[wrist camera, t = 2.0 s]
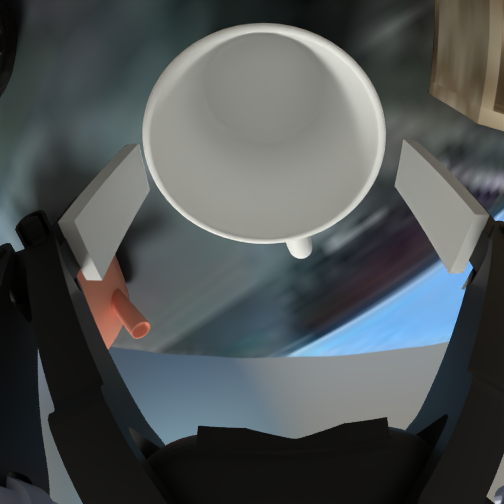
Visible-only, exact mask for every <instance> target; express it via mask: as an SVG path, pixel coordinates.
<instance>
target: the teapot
mask: <svg viewBox="0 0 504 504" xmlns="http://www.w3.org/2000/svg"><path fill="white" fill-rule="evenodd" d="M77 278H78V280H79V282H80V284H81V287H82V289H83V292H84V295H85V297H86V300H87V302H88V305H89V307H90V310H91V312H92V315H93V317H94V320H95V322H96V324H97V327H98V329H99V331H100V334H101V336H102V338H103V340H104V343H105V345H106V347H107V349H109V347H110V346H111V344H112V343H113V341H114V340H115V338H116V336H117V335H118V333H119V331H120V329H121V327H122V325H123V324H124V326H125V327H126V329H127V330H128V331H129V333H130V334H131V335H132V337H133V338H141V337H143V336H145V335H146V334H147V333H148V332H149V330H150V323H149V322H148V321H147V320H146V319H145V318H144V317H143V315H142V314H141V313H140V312H139V311H138V310H137V309H136V308H135V306H134V305H133V304H132V303H131V302H130V301H129V294H128V290H127V286H126V283H125V280H124V277H123V274H122V271H121V268H120V265H119V263H118V260H117V258H116V255H114V257H113V259H112V261H111V263H110V265H109V267H108V269H107V271H106V274H105V276H104V278H103V280H102V281H101V280H86V278H85V277H84V275H83V273H82V271H81V269H80V271H79V272H78V274H77ZM11 300H12V299H11Z"/></svg>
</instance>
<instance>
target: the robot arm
mask: <svg viewBox="0 0 504 504" xmlns="http://www.w3.org/2000/svg"><path fill="white" fill-rule="evenodd" d="M395 187H396V189H397V190H398V191H399V193H400V194H401V196H402V197H403V199H404V200H405V202H406V203H407V205H408V206H409V208H410V209H411V211H412V212H413V214H414V215H415V217H416V218H417V220H418V222H419V223H420V225H421V226H422V228H423V230H424V231H425V233H426V234H427V236H428V238H429V239H430V241H431V243H432V245H433V246H434V248H435V250H436V251H437V253H438V255H439V257H440V258H441V260H442V262H443V264H444V266H445V268H446V269H447V271H448V273H449V274H453V273H463V272H464V270H465V268H466V266H467V264H468V262H469V261H470V263H471V265H472V266H473V269H472V271H471V273H470V275H469V277H468V278H467V280H466V282H465V284H464V286H463V287H462V289H463V290H464V289H465V288H466V290H465V294H464V298H463V301H462V305H461V308H460V311H459V315H458V318H457V321H456V324H455V327H454V330H453V333H452V336H451V339H450V342H449V345H448V347H447V350H446V353H445V355H444V358H443V360H442V363H441V365H440V368H439V370H438V373H437V375H436V377H435V380H434V382H433V384H432V386H431V389H430V391H429V393H428V395H427V398H426V400H425V401H424V404H423V406H422V408H421V410H420V411H419V413H418V415H417V416H416V418H415V419H414V420H413V422H412V423H411V424H410V425H409V427H408V428H407V429H406V431H405V430H402V429H398V428H393V427H388V421H387V417H385V418H379V419H374V420H366V421H359V422H352V423H344V424H341V425H339V426H336V427H333V428H330V429H327V430H324V431H321V432H318V433H315V434H312V435H309V436H306V437H302V438H298V439H291V438H286V437H281V436H276V435H272V434H267V433H262V432H259V431H254V430H250V429H247V428H226V427H209V426H198V432H197V435H193V436H189V437H185V438H181V439H179V440H176V441H174V442H171V443H169V444H168V445H166V446H165V444H164V443H163V442H162V440H161V439H160V438H159V437H158V435H157V434H156V433H155V432H154V430H153V429H152V428H151V427H150V425H149V424H148V423H147V421H146V420H145V418H144V416H143V415H142V413H141V411H140V410H139V408H138V406H137V404H136V403H135V401H134V399H133V397H132V396H131V394H130V392H129V390H128V388H127V387H126V385H125V383H124V381H123V379H122V377H121V375H120V374H119V372H118V369H117V367H116V365H115V364H114V361H113V360H112V357H111V355H110V353H109V351H108V349H107V347H106V345H105V343H104V340H103V338H102V336H101V334H100V331H99V329H98V327H97V324H96V322H95V320H94V317H93V315H92V312H91V310H90V307H89V305H88V302H87V300H86V297H85V295H84V292H83V289H82V287H81V284H80V282H79V280H78V278H77V274H78V272H79V271H80V269H81V271H82V273H83V275H84V277H85V278H86V280H101V281H102V280H103V278H104V276H105V274H106V271H107V269H108V267H109V265H110V263H111V261H112V259H113V257H114V255H115V253H116V251H117V249H118V247H119V245H120V243H121V241H122V239H123V238H124V236H125V234H126V232H127V230H128V228H129V226H130V224H131V223H132V221H133V219H134V217H135V215H136V214H137V212H138V210H139V208H140V206H141V205H142V203H143V201H144V199H145V198H146V196H147V194H148V193H149V191H150V188H149V184H148V180H147V176H146V172H145V167H144V163H143V159H142V154H141V150H140V145H139V143H136V144H129V145H125V146H124V147H123V148H122V149H121V150H120V151H119V152H118V153H117V154H116V155H115V156H114V158H113V159H112V160H111V161H110V162H109V163H108V164H107V165H106V166H105V167H104V168H103V169H102V170H101V171H100V172H99V174H98V175H97V176H96V177H95V178H94V179H93V180H92V181H91V183H90V184H89V185H88V186H87V187H86V188H85V189H84V191H83V192H82V193H81V194H80V195H79V196H78V197H76V198H75V199H74V200H73V201H72V202H71V203H70V205H69V206H68V208H66V210H65V211H64V212H63V214H62V215H61V216H60V217H59V218H58V220H57V221H56V222H55V224H54V225H53V226H52V227H51V225H50V223H49V221H48V219H47V216H46V214H45V212H44V211H41V210H39V211H35V212H33V213H30V214H29V215H27V216H26V217H24V218H23V219H22V220H21V221H20V222H19V223H18V224H17V226H16V229H15V230H16V232H17V234H18V236H19V238H20V240H21V242H22V244H23V246H24V248H25V249H23V250H21V251H18V252H15V250H14V249H13V247H12V245H11V244H10V243H6V244H3V245H1V246H0V504H57V503H55V502H53V501H52V499H51V498H50V493H49V492H50V491H49V490H50V489H49V477H48V468H47V462H46V455H45V449H44V443H43V436H42V427H41V419H40V407H39V394H38V357H37V356H38V349H39V354H40V358H41V362H42V366H43V370H44V374H45V377H46V381H47V384H48V388H49V391H50V395H51V397H52V401H53V404H54V408H55V410H54V412H53V413H51V414H49V417H48V422H49V427H50V430H51V433H52V436H53V438H54V441H55V444H56V446H57V449H58V451H59V454H60V456H61V459H62V461H63V463H64V466H65V468H66V470H67V472H68V475H69V477H70V479H71V481H72V483H73V485H74V487H75V489H76V491H77V493H78V495H79V497H80V499H81V501H82V503H83V504H494V503H493V502H492V501H491V500H490V499H488V498H487V497H486V496H487V494H488V491H489V489H490V487H491V485H492V482H493V480H494V478H495V475H496V473H497V470H498V467H499V465H500V462H501V459H502V457H503V454H504V222H503V221H495V220H494V219H493V217H492V216H491V215H490V214H489V213H488V211H487V210H486V209H485V208H484V207H483V206H482V205H481V203H480V202H479V201H477V199H476V198H475V197H474V196H473V194H472V193H471V192H469V191H468V190H467V189H466V188H465V187H464V186H463V185H462V184H461V183H460V182H459V181H458V180H457V179H456V178H455V177H454V176H453V175H452V174H451V173H450V172H449V171H448V170H447V169H446V168H445V167H444V166H443V165H442V164H441V163H440V162H439V161H438V160H437V159H436V158H435V157H434V156H433V155H432V154H431V153H430V152H428V151H427V150H426V149H425V148H424V147H423V146H422V145H421V144H420V143H418V142H417V141H416V140H408V139H403V145H402V151H401V157H400V162H399V167H398V172H397V177H396V182H395ZM11 299H12V300H11ZM494 502H495V504H504V486H502V487H500V488H499V489H498V490H497V491H496V493H495V496H494Z"/></svg>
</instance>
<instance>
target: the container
mask: <svg viewBox="0 0 504 504" xmlns="http://www.w3.org/2000/svg"><path fill="white" fill-rule="evenodd" d="M16 42H17V39H16V27H15V21H14V17H13V15H12V14H11V11H10V9H9V7H8V6H7V5H6V4H5V3H4V2H3V1H2V0H0V97H1V95H2V94H3V92H4V91H5V89H6V86H7V84H8V82H9V79H10V77H11V73H12V68H13V64H14V59H15V53H16Z"/></svg>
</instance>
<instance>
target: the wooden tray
mask: <svg viewBox="0 0 504 504" xmlns="http://www.w3.org/2000/svg"><path fill="white" fill-rule="evenodd" d="M429 94H430V95H432V96H433V97H435V98H437V99H439V100H441V101H442V102H444V103H446V104H447V105H449V106H451V107H452V108H454V109H456V110H457V111H459V112H461V113H462V114H464V115H465V116H467V117H468V118H470V119H471V120H473V121H475V122H476V123H477V124H481V125H485V126H488V127H492V128H495V129H498V130H502V131H504V0H435V25H434V46H433V59H432V70H431V79H430V88H429Z"/></svg>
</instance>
